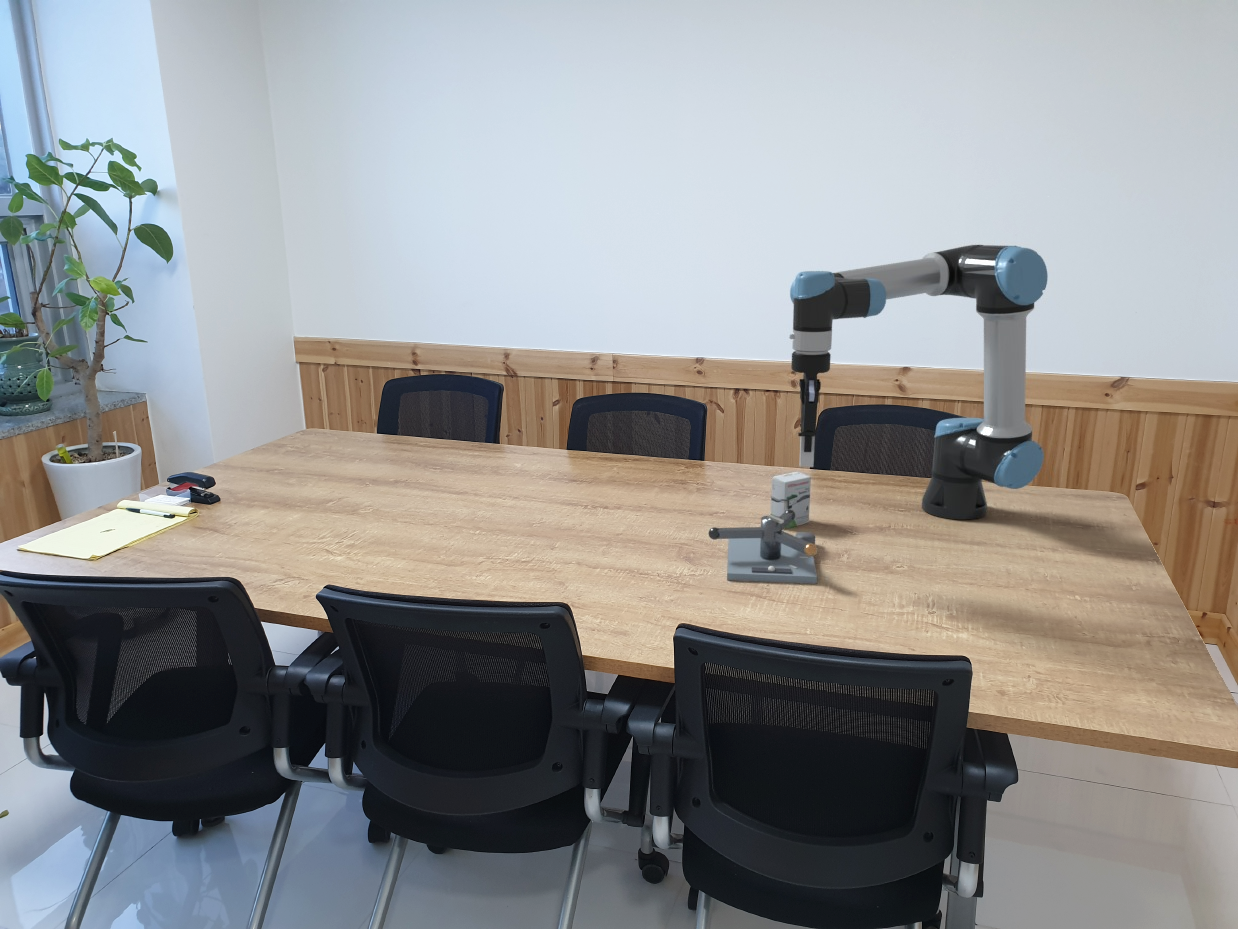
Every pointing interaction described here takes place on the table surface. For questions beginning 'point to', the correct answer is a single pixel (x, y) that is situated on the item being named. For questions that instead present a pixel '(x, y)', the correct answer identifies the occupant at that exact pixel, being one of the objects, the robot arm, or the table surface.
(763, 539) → the capstan
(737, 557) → the stand
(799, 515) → the ink box
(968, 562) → the table surface
